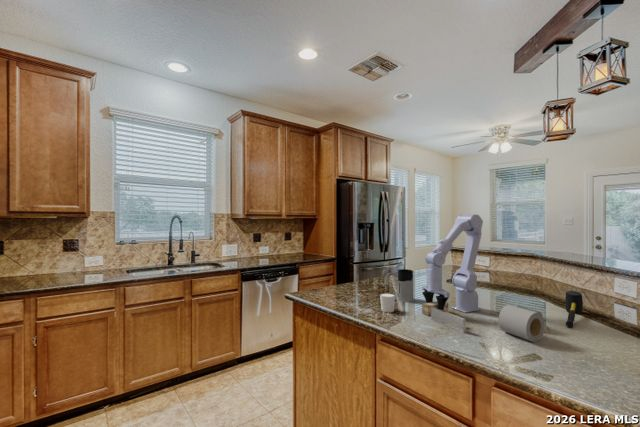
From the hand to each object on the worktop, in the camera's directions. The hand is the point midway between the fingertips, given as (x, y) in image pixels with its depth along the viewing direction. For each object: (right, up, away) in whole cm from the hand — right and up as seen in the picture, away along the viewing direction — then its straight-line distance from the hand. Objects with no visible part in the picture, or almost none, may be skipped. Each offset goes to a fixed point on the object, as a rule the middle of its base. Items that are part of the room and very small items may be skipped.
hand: (435, 309), depth 138 cm
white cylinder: (+30, -2, -17) cm, 35 cm away
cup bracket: (0, -1, -15) cm, 15 cm away
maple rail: (0, -2, 0) cm, 2 cm away
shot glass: (-21, -2, +4) cm, 21 cm away
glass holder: (-10, -2, +22) cm, 24 cm away
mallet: (+55, -2, -8) cm, 55 cm away
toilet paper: (+21, -2, -27) cm, 34 cm away
